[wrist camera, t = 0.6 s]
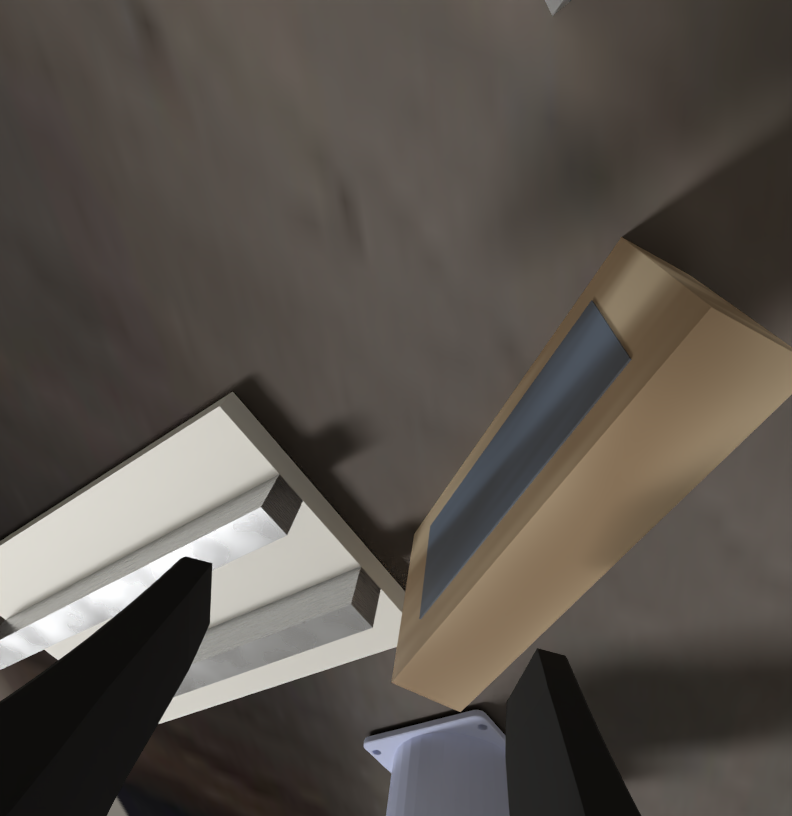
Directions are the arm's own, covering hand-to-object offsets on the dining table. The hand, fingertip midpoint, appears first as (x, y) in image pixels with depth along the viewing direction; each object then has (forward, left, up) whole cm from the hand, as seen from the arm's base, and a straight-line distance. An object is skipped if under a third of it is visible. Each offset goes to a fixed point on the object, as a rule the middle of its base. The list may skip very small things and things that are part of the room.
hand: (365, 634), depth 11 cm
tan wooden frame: (-2, -4, -10) cm, 11 cm away
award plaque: (+24, -22, -10) cm, 33 cm away
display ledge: (-2, +15, -10) cm, 18 cm away
